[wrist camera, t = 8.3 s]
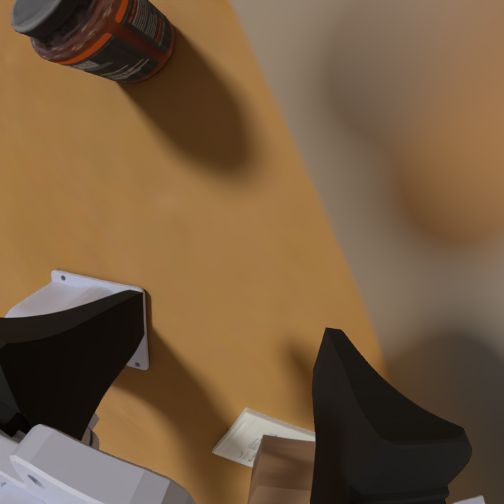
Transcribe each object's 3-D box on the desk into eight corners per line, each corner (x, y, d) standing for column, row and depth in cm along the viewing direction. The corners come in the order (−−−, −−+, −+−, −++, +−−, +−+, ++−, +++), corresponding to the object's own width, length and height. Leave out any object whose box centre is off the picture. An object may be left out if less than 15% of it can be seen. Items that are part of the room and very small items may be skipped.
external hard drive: (311, 475, 30) (213, 444, 29) (354, 439, 27) (247, 401, 27) (311, 485, 28) (210, 455, 28) (356, 450, 26) (244, 414, 25)
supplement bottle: (157, 1, 17) (76, -74, 6) (192, 53, 18) (110, -21, 7) (94, 47, 18) (-9, 8, 8) (123, 101, 19) (8, 77, 9)
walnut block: (253, 462, 27) (246, 507, 22) (263, 434, 26) (257, 485, 20) (300, 468, 27) (299, 513, 21) (314, 441, 26) (316, 491, 20)
